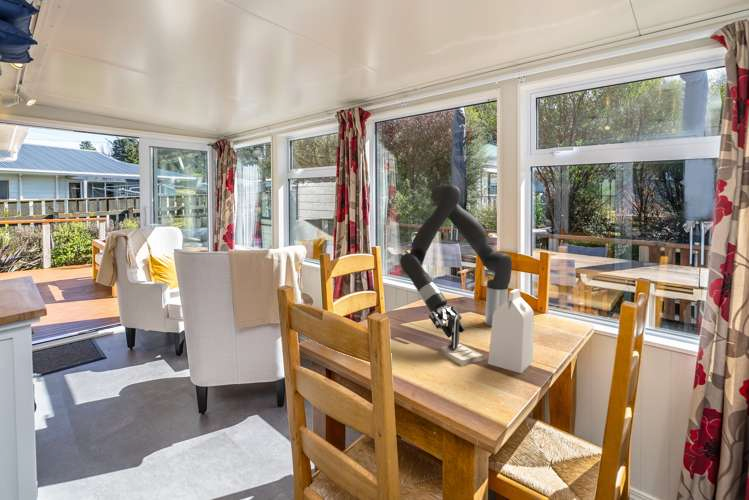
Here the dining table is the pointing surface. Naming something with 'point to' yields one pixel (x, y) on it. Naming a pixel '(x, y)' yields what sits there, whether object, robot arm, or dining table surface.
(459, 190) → the robot arm
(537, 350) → the dining table surface
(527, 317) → the milk
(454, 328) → the dark upright piece
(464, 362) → the board
